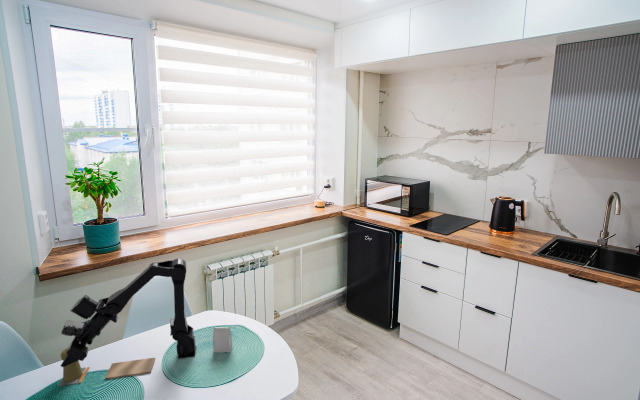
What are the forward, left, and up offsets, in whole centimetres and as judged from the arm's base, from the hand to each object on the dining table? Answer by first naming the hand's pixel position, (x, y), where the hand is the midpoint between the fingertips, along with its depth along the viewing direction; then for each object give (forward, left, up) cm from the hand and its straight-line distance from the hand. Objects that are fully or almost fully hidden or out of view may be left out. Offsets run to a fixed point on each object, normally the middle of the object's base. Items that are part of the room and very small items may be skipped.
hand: (64, 358), depth 131 cm
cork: (-1, 0, -8) cm, 8 cm away
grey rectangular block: (-55, -5, -8) cm, 56 cm away
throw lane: (-13, 0, -8) cm, 15 cm away
